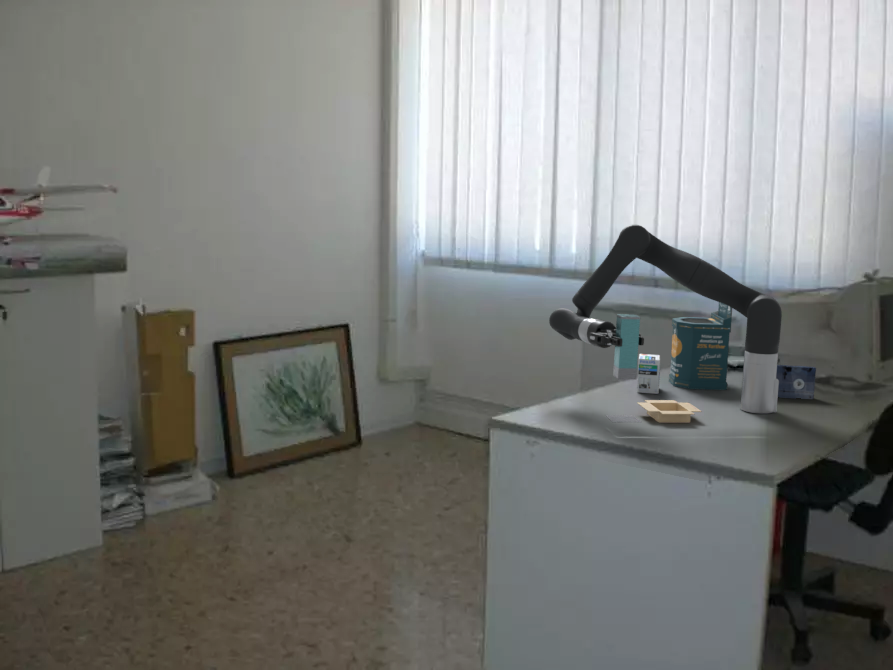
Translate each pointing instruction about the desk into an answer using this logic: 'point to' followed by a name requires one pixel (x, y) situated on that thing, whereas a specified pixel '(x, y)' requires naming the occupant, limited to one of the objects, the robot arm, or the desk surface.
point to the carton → (669, 410)
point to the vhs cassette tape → (796, 381)
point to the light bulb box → (648, 373)
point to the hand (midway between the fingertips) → (632, 342)
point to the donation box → (701, 350)
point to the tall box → (626, 346)
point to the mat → (623, 418)
